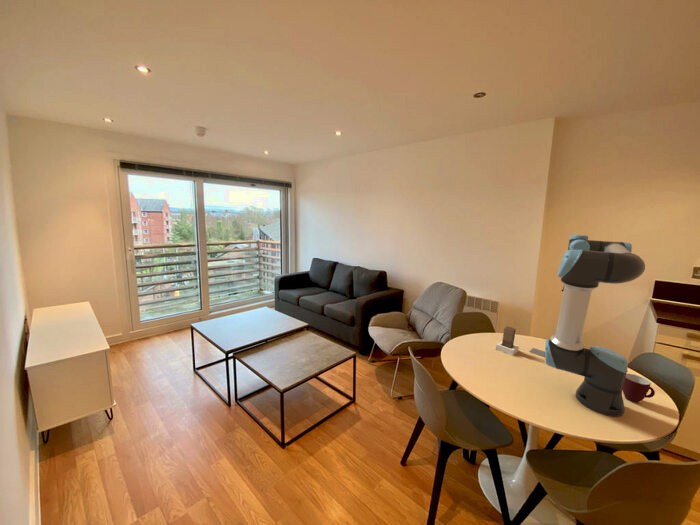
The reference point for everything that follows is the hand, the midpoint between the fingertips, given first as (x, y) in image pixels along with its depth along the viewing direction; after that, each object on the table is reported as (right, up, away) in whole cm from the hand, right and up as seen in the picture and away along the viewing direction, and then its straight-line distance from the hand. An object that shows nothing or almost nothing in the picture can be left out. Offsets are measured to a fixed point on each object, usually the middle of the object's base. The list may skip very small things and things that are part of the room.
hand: (567, 301), depth 150 cm
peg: (-28, -30, +9) cm, 42 cm away
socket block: (-28, -30, +9) cm, 42 cm away
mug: (+3, -38, -32) cm, 50 cm away
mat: (-11, -30, +7) cm, 33 cm away
